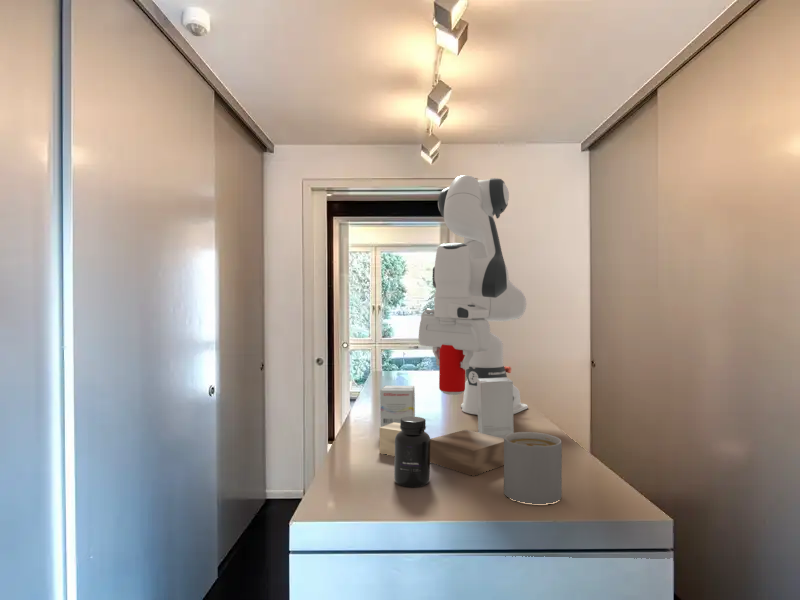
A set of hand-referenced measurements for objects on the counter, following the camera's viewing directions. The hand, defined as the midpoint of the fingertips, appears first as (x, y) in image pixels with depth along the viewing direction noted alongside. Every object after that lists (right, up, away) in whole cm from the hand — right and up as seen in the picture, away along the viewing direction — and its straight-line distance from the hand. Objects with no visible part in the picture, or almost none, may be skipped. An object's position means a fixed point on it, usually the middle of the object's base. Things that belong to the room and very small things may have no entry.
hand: (452, 367), depth 126 cm
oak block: (-13, -19, -7) cm, 24 cm away
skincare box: (+11, -19, +6) cm, 23 cm away
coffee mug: (+11, -19, -31) cm, 38 cm away
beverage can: (0, -6, 0) cm, 6 cm away
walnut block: (+2, -19, -15) cm, 24 cm away
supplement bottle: (-10, -19, -26) cm, 34 cm away
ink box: (-13, -19, +12) cm, 26 cm away
